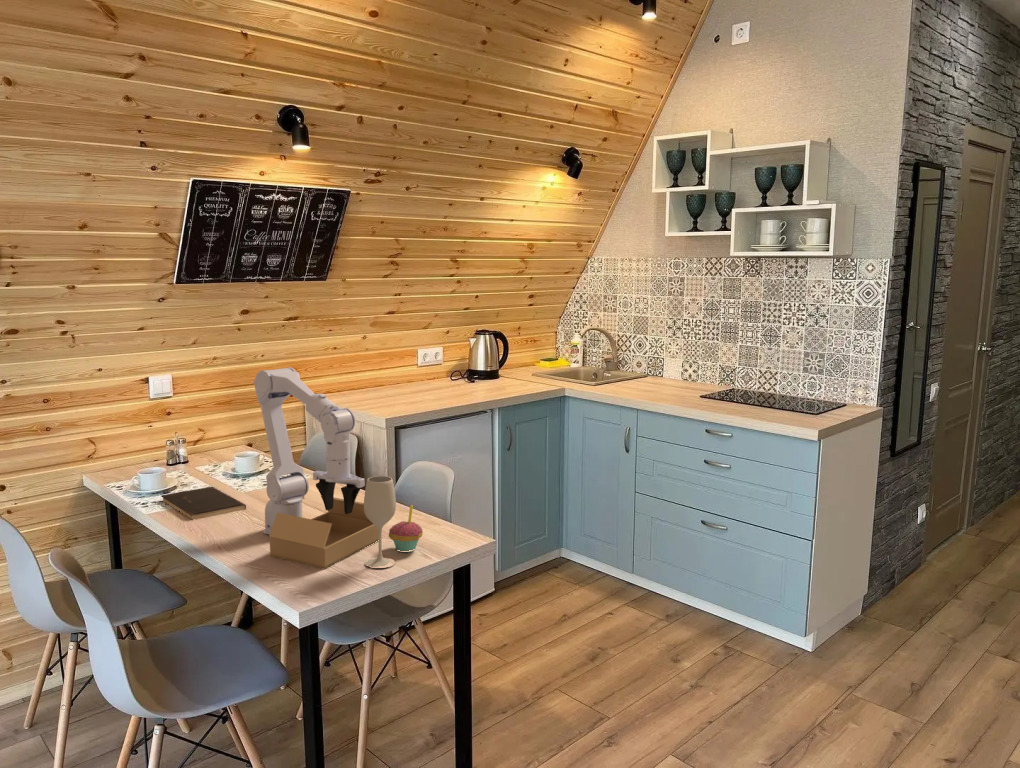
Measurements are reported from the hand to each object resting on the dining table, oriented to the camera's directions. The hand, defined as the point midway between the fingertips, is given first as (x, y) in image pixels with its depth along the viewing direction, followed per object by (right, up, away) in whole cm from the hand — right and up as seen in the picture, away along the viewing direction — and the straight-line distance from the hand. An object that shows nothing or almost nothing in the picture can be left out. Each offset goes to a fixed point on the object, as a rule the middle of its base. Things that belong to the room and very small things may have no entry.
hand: (338, 511), depth 195 cm
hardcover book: (-48, -5, +36) cm, 60 cm away
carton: (-4, -10, +3) cm, 11 cm away
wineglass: (+11, -12, -6) cm, 18 cm away
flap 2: (+1, -1, +11) cm, 11 cm away
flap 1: (-8, -4, -6) cm, 11 cm away
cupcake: (+16, -11, +4) cm, 20 cm away
